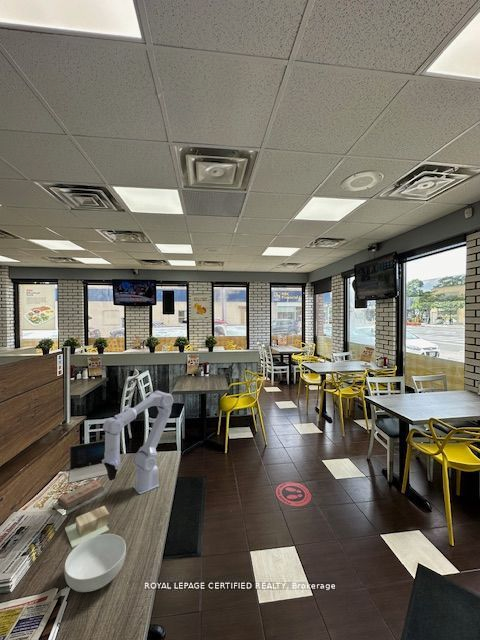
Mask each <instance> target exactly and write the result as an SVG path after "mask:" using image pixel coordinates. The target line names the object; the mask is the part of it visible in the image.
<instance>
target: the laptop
mask: <svg viewBox="0 0 480 640" xmlns="http://www.w3.org/2000/svg"><path fill="white" fill-rule="evenodd" d="M104 452H105V439H104V440H98V441H93V442H87V443H81V444H76V445H75V444H74V445H71V446H70V448H69V457H70V458H69V470H70V471H69V476H68V484H71V483H75V482H80V481H85V480H90V479H92V478H93V479H94V478H97V477H101V476H105V475H107V476H108V473H107V469H106V467H105V465H104V463H103V462H102V460H103V459H104V458H105V457H104Z"/></svg>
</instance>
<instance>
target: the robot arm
mask: <svg viewBox="0 0 480 640" xmlns="http://www.w3.org/2000/svg"><path fill="white" fill-rule="evenodd" d="M174 401H175V400H174V398H173V395H172V394H171V393H167V392H163V391H161V390H155V391H154V392H152V393H150V394H149V396H148V397H146V398H145V399H143V400H142V401H140V403H138V404H137V405H135V406H134V407H126V408H124V409H123V411H121V412H120V413H118V414H115V415H114V417H108V418H107V419H106V420H105V421H104V422H103V424H102V430H103V431H104V433H105V434H104V440H105V452H104V457H105V458H104V459H103V460H102V462H103V463H104V465H105V467H106V469H107V473H108V474H107V477H108V480H109V481H110V482H111V481H113V480H116V477H117V473H118V470H119V469H121V467H122V465H121V455H120V454H121V453H120V451H121V450H120V449H121V445H120V444H121V432H122V431H123V429H124V428H125V426H127V425H128V424H129V423H131V422H132V421H134V420H135V419H136V418H137V415H138V414H140V413H142V412H144V411H146V410H147V409H149V408H151V407H153V406H154V407H156V408H157V411H158V413H157V416H156V418H155V420H154V422H153V425H152V427H151V429H150V432H149V433H148V436H147V438H146V441H145V443H144V445H142V446H140V448H139V449H138V451H137V452H136V453H135V455H134V456H133V464H134V465H135V467H136V470H135V471H136V478H135V479H136V480H135V481H136V483H135V484H133V485H132V488H134V490H135V491H136V492H137V493H138V494H139V495H141V494H144V493H146V492H149V491H152V490H154V489H157V488H159V486H160V484H159V468H158V466H157V465H156V464H157V462H156V461H157V457H158V453H157V449H156V448H157V447H158V444H159V442H160V439H161V437H162V434H163V433H164V431H165V427H166V426H167V423H168V421H169V418H170V415H171V413H172V406H173V404H174Z"/></svg>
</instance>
